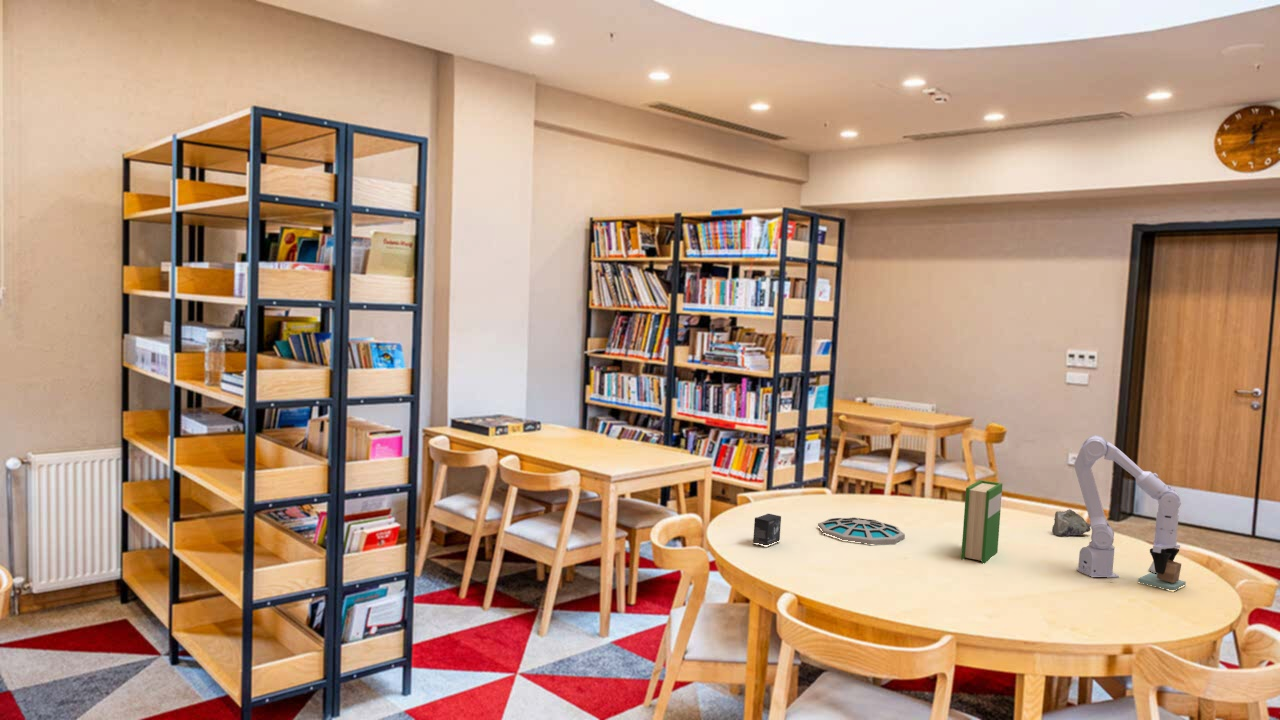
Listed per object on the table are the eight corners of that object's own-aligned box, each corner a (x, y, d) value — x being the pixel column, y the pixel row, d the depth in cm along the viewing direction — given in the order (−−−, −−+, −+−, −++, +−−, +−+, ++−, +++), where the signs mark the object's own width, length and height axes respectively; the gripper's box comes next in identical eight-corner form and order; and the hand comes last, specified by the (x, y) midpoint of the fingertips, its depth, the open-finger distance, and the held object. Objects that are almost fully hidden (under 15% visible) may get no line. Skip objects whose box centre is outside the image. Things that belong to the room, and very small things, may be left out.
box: (767, 548, 286) (768, 520, 285) (752, 545, 289) (753, 517, 288) (780, 543, 293) (781, 515, 292) (765, 539, 296) (767, 512, 296)
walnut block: (1172, 583, 260) (1175, 565, 260) (1156, 577, 264) (1159, 560, 263) (1178, 580, 263) (1181, 563, 263) (1162, 575, 267) (1165, 558, 266)
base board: (1173, 592, 258) (1174, 587, 258) (1137, 583, 265) (1138, 578, 265) (1185, 586, 264) (1185, 581, 264) (1149, 577, 272) (1150, 572, 272)
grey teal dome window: (913, 548, 295) (914, 534, 294) (828, 544, 295) (829, 530, 295) (889, 525, 325) (890, 512, 325) (812, 522, 326) (813, 509, 326)
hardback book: (984, 563, 279) (989, 491, 278) (961, 559, 283) (966, 487, 282) (997, 552, 293) (1002, 483, 292) (975, 548, 298) (979, 480, 296)
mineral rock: (1090, 535, 323) (1092, 509, 322) (1090, 541, 314) (1092, 515, 313) (1052, 529, 329) (1054, 504, 328) (1051, 536, 320) (1053, 509, 319)
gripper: (1172, 535, 256) (1168, 579, 257) (1189, 528, 265) (1185, 571, 266) (1146, 529, 261) (1143, 573, 262) (1163, 523, 271) (1160, 565, 272)
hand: (1162, 571), depth 265 cm, fingers closed on walnut block, 4 cm apart
